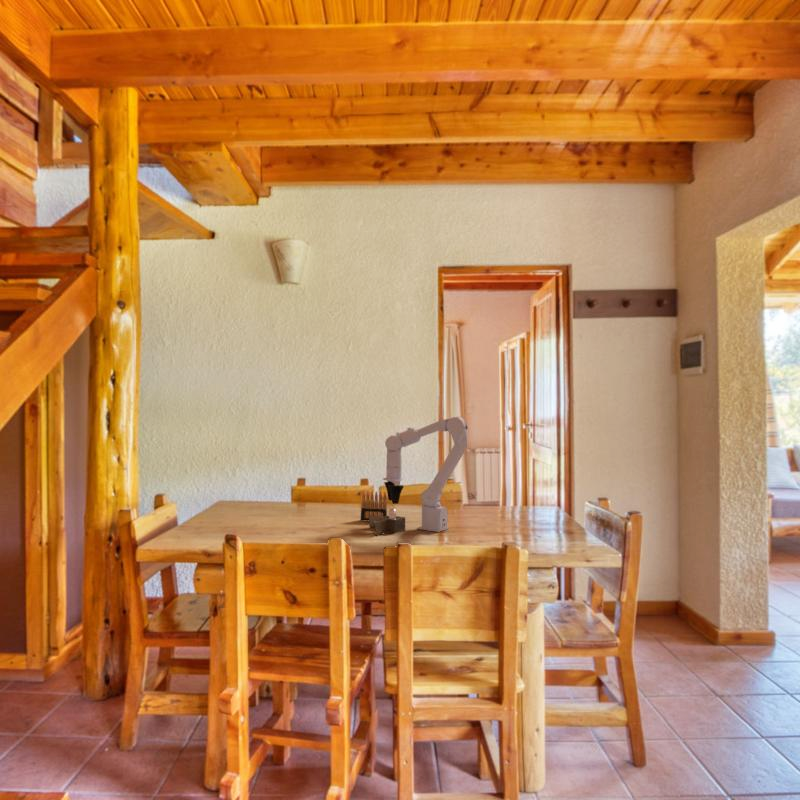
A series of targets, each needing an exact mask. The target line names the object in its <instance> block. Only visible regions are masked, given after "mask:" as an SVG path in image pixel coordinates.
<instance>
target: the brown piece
mask: <svg viewBox="0 0 800 800" xmlns="http://www.w3.org/2000/svg"><path fill="white" fill-rule="evenodd" d="M368 522H369V526H368V527H372V528H371V529H375V531H374V535H379V536H381V535H380V534H382V535H384V534H383V533H385V534H388V533H387V532H390V533H389V534H393V533H396V534H399V533H402V532H405V531H406V516H400V515H399V516H398V515H396V519H389V515H387V516H385V517H384V516H383V515H382V516H377V515H369V521H368ZM401 531H402V532H401ZM398 532H399V533H398Z"/></svg>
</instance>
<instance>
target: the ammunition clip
mask: <svg viewBox="0 0 800 800" xmlns="http://www.w3.org/2000/svg"><path fill="white" fill-rule="evenodd" d="M387 506H388V501H387V491H384V492H383V493H382V491H380V492H379V495H378V492H377V490H376V491H375V494H374V493H373V491H371V493H370V492H369V491H368V490H367V492H366V493H365V490H363V491H362V497H361V509H360V520H369V515H377V516H384V517H385V516H388V507H387Z"/></svg>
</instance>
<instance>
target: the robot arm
mask: <svg viewBox="0 0 800 800" xmlns="http://www.w3.org/2000/svg"><path fill="white" fill-rule="evenodd" d="M439 431H442V432H448V433H449V435H451V437H452V440H453V446H452V448H451V449H450V451H449V453H448V455H447V456H446V458H445V460H444V461H443V463H442V465H441V466H440V468H439V470H438V472H437V474H436V475H435V477H434V478H433V480H432V482H431V483H430V484H429V486H428V487H427V488H426V489H424V490H423V491H422V493H421V494H420V499H421V502H422V503H421V525H420V526H417V527H416V529H417V530H423V531H427V532H428V531H429V532H437V533H439V532H442V531H446V530H448V529H449V526H448V521H449V520H448V510H447V509H448V508H446V507H445V506H442V503H441V502H440V500H441V498H442V493H443V490H444V488H445V485H446V483H447V482H448V480H449V479H450V477H451V476H452V474H453V472H454V471H455V469H456V467H457V465H458V464H459V462H460V460H461V459H462V457H463V455H464V454H465V452H466V450H467V449H468V446H469V426H468V423H467V422H466V420H465V419H464V418H463V417H461V416H452V417H450V418H445V419H441V420H438V421H436V422H432V423H430V424H429V425H426V426H423V427H421V428H419V429H418V428H415V427H407V428H406V430H404V431H402V432H396V433H395V435H393V434H392V435H390V436H388V437H387V438H386V439H385V442H384V443H385V444H384V445H385V447H386V471H385V472H386V475H385V476H386V477H383V479H382V480H383V481H385V482H383V483H384V485H385V486H384V487H385V489H386V494H387V499H388V501H391V502H392V504H394V505H395V504H396V505H397V504H399V502H400V498H401V494H402V490H403V489H404V485H402V484H401V481H402V479H403V477H402V448H406V447H408V446H411V445H413V444H416V443H419V442H420V441H421V439H422V437H425V436H427V435H430V434H431V435H432V434H433V433H436V432H439Z"/></svg>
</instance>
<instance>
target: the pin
mask: <svg viewBox="0 0 800 800" xmlns="http://www.w3.org/2000/svg"><path fill="white" fill-rule="evenodd" d="M388 516H389V519H396V516H397V509H396V508H389V509H388Z"/></svg>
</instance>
